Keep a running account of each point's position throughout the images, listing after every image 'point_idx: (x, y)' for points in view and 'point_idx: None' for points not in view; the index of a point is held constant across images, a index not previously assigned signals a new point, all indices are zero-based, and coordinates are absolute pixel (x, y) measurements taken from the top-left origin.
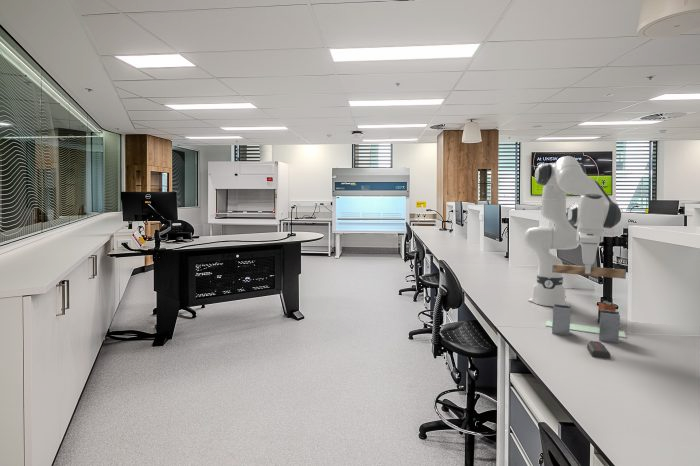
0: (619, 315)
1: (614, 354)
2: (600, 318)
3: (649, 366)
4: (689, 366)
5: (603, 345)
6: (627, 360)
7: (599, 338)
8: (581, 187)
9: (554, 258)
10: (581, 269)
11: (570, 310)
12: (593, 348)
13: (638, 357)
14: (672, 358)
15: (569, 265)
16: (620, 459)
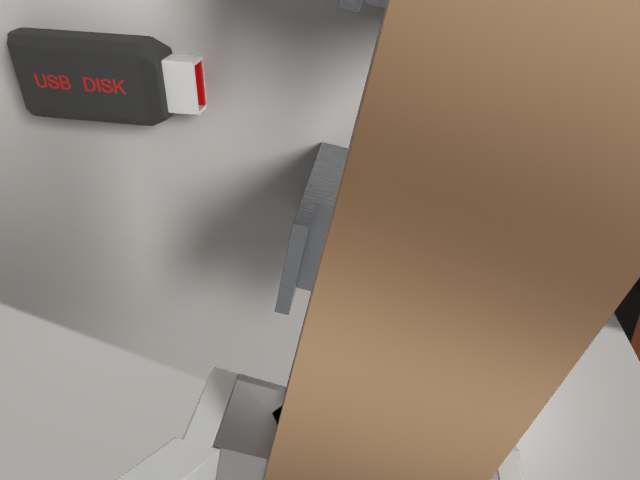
0: (275, 308)
1: (121, 147)
2: (308, 204)
3: (46, 228)
4: (128, 342)
5: (129, 120)
6: (68, 175)
7: (320, 147)
8: None
9: None
10: (287, 387)
11: (339, 5)
12: (33, 49)
13: (135, 229)
14: (189, 331)
15: (523, 229)
16: None
